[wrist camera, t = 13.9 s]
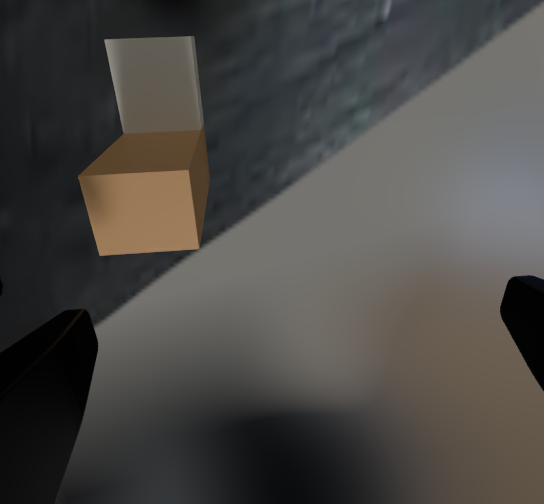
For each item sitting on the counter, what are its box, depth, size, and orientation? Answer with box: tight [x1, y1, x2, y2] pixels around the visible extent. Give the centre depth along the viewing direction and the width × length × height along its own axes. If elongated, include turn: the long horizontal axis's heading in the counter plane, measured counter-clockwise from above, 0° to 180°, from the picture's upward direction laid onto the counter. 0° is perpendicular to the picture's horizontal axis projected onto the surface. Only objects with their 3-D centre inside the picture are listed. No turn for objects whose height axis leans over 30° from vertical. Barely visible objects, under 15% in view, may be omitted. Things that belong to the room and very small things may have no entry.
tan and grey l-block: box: [78, 36, 210, 256], centre depth 11 cm, size 2×5×6 cm, turn 2°
